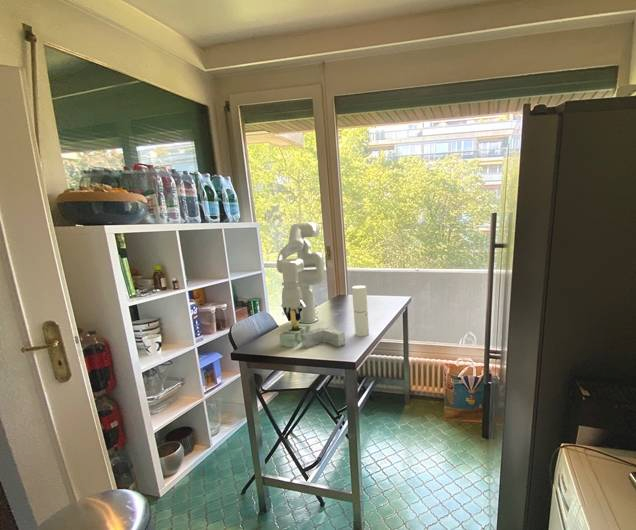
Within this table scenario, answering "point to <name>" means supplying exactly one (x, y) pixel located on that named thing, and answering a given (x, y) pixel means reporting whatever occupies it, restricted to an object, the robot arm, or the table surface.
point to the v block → (323, 337)
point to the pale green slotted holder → (293, 336)
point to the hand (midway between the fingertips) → (294, 319)
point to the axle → (294, 320)
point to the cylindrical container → (360, 310)
